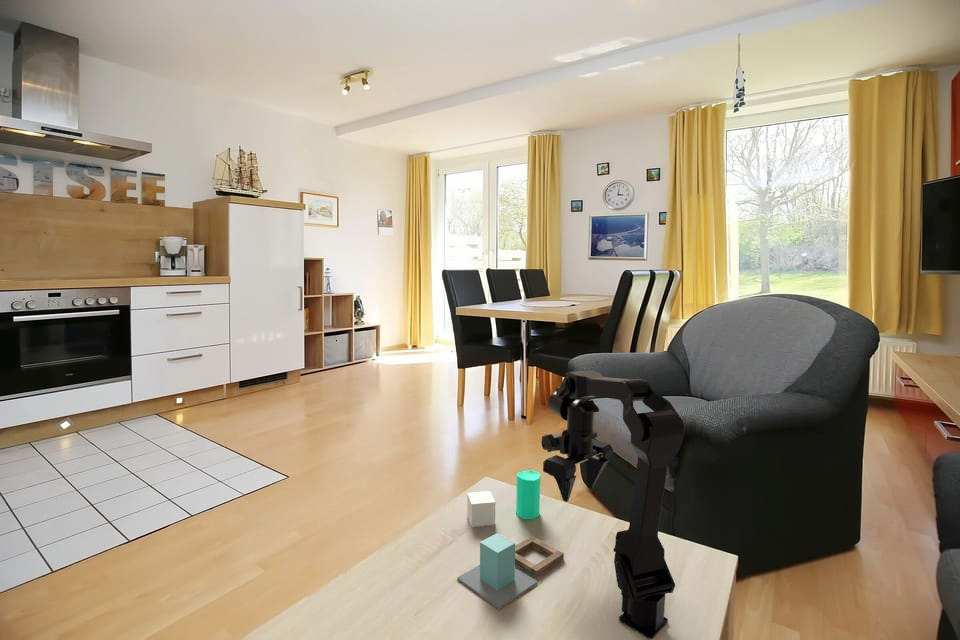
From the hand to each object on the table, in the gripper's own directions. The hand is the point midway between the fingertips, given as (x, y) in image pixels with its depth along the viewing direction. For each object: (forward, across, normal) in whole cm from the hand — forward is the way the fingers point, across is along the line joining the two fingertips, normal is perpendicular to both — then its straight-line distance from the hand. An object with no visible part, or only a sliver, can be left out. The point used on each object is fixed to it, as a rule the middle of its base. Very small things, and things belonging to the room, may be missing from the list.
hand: (577, 494), depth 112 cm
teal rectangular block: (+12, +21, -4) cm, 25 cm away
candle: (+13, -4, -18) cm, 23 cm away
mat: (+13, +22, -4) cm, 25 cm away
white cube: (+13, +7, -24) cm, 28 cm away
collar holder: (+13, +10, -4) cm, 17 cm away
